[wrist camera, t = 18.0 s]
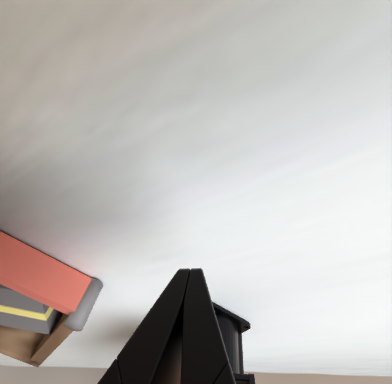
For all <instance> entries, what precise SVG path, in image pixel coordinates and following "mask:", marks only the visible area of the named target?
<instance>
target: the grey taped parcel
mask: <svg viewBox="0 0 392 384" xmlns="http://www.w3.org/2000/svg"><path fill="white" fill-rule="evenodd" d="M61 315H62V312H60V311H58V310H56V309H53V308H51V307H49V306H47V305H45V304H43V303H40V302H38V301H36V300H34V299H32V298H30V297H27V296H25V295H23V294H21V293H19V292H16V291H14V290H12V289H10V288H8V287H6V286H3V285H1V284H0V325H2V326H7V327H12V328H17V329H22V330H27V331H32V332H37V333H42V334H47V335H50V334H51V332H52V331H53V329H54V327H55V325H56V324H57V322H58V320H59V318H60V317H61Z"/></svg>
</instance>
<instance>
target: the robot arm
mask: <svg viewBox="0 0 392 384" xmlns="http://www.w3.org/2000/svg"><path fill="white" fill-rule="evenodd" d="M248 329H250V323H249V322H247V321H245V320H244V319H242V318H240V317H238V316H236V315H235V314H233V313H231V312H229V311H227V310H226V309H224V308H222V307H220V306H218V305H217V304H215V303H213V302H212V301H211V297H210V294H209V291H208V287H207V284H206V280H205V277H204V273H203V270H202V269H201V268H193V269H191V270H190V269H179V270H178V271H177V272H176V274H175V275H174V277H173V278H172V280H171V281H170V282H169V284H168V285H167V287H166V288H165V290H164V291H163V292H162V294H161V295H160V297H159V298H158V299H157V301H156V302H155V304H154V305H153V307H152V308H151V309H150V311H149V312H148V314H147V315H146V316H145V318H144V319H143V321H142V322H141V324H140V325H139V326H138V328H137V329H136V331H135V332H134V333H133V335H132V336H131V338H130V339H129V341H128V342H127V343H126V345H125V346H124V348H123V349H122V351H121V352H120V353H119V355H118V356H117V359H115V360H114V362H113V363H112V365H111V366H110V367H109V369H108V370H107V372H106V373H105V374H104V376H103V377H102V378H101V380H100V381H99V382H98V384H255V378H254V374H248V375H247V374H244V371H243V352H242V333H243V332H245V331H247V330H248Z"/></svg>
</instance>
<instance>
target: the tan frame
mask: <svg viewBox="0 0 392 384" xmlns="http://www.w3.org/2000/svg"><path fill="white" fill-rule="evenodd" d="M68 316H69V315H67V314H64V313H62V315H61V317H60V318H59V320H58V322H57V324H56V325H55V327H54V329H53V331H52V332H51V334H50V335H47V334H42V333H37V332H32V331H27V330H22V329H17V328H12V327H7V326H2V325H0V353H2V354H4V355H7V356H10V357H12V358H15V359H18V360H20V361H23V362H25V363H28V364H31V365H33V366H36V367H39V365H40V364H41V363H42V362H43V361H44V360H45V359H46V358H47V357H48V356H49V355H50V354H51V353H52V352H53V351H54V350H55V349H56V348H57V347H58V346H59V345H60V344H61V343H62V342H63V341H64V340H65V339H66V338H67V337H68V335H69V334H70V333H71V332H72V330H70V329H68V328H67V327H66V326H65V322H66V320H67V318H68Z"/></svg>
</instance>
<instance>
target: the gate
mask: <svg viewBox="0 0 392 384" xmlns="http://www.w3.org/2000/svg"><path fill="white" fill-rule="evenodd" d="M0 284H1V285H3V286H6V287H8V288H10V289H12V290H14V291H16V292H19V293H21V294H23V295H25V296H27V297H30V298H32V299H34V300H36V301H38V302H40V303H43V304H45V305H47V306H49V307H51V308H53V309H56V310H58V311H60V312H62V313H64V314H67V315H69V316H68V318H67V320H66V322H65V326H66V327H67V328H68V329H70V330H72V331H81V330H82V329H83V327H84V325H85V323H86V320H87V318H88V316H89V314H90V312H91V310H92V308H93V306H94V304H95V301H96V299H97V297H98V295H99V293H100V291H101V289H102V287H103V284H102V282H101V281H99V280H97V279H93V278H90V277H88V276H86V275H84V274H82V273H80V272H79V271H77V270H75V269H73V268H71V267H69V266H67V265H65V264H63V263H61V262H59V261H57V260H55V259H53V258H51V257H49V256H47V255H46V254H44V253H42V252H40V251H38V250H36V249H34V248H32V247H30V246H28V245H26V244H24V243H22V242H20V241H18V240H16V239H14V238H13V237H11V236H9V235H7V234H5V233H3V232H1V231H0Z"/></svg>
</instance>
